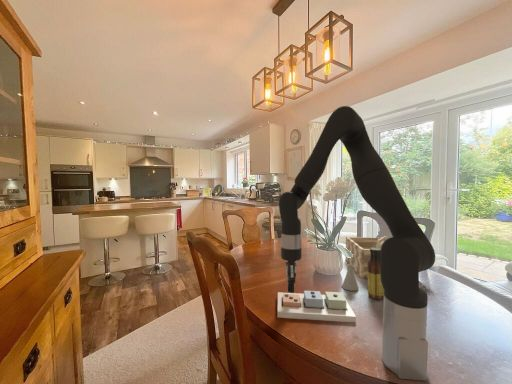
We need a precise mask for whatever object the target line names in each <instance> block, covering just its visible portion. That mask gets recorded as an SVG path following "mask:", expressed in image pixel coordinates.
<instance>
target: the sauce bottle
mask: <svg viewBox="0 0 512 384" xmlns="http://www.w3.org/2000/svg"><path fill="white" fill-rule="evenodd" d="M380 251H381V249H379V248H370V252H371V257H370V260H369V262H368V270H367V273H368V278H367V294H368V296H369V297H370V298H372V299H375V300H379V301H380V300H384V289H383V286H382V283H381V276H380Z"/></svg>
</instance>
